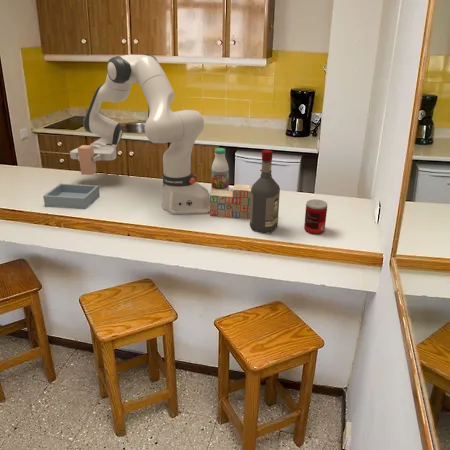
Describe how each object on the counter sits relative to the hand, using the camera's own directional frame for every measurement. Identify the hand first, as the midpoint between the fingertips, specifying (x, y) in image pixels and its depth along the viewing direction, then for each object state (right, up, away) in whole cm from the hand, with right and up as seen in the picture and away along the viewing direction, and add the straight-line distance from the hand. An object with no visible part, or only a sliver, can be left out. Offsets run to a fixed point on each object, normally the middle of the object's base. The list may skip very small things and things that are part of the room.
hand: (86, 159), depth 200 cm
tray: (-4, -18, -5) cm, 20 cm away
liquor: (+76, -30, -28) cm, 86 cm away
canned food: (+95, -31, -29) cm, 104 cm away
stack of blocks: (+66, -25, -17) cm, 73 cm away
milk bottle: (+59, -14, +5) cm, 61 cm away
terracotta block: (0, -6, +4) cm, 7 cm away
